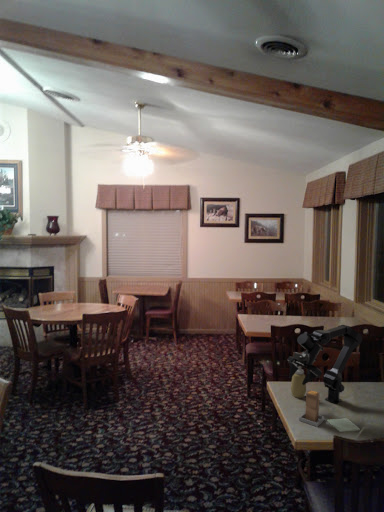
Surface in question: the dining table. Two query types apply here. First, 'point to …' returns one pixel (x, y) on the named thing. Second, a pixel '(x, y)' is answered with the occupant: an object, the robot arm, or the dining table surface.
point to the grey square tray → (320, 420)
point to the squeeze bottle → (298, 384)
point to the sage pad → (343, 425)
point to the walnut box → (312, 406)
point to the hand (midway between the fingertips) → (296, 381)
